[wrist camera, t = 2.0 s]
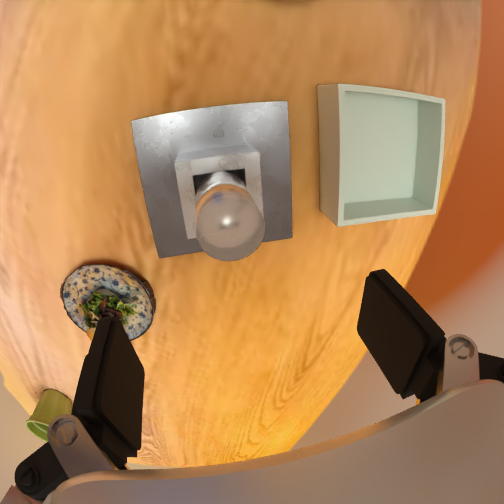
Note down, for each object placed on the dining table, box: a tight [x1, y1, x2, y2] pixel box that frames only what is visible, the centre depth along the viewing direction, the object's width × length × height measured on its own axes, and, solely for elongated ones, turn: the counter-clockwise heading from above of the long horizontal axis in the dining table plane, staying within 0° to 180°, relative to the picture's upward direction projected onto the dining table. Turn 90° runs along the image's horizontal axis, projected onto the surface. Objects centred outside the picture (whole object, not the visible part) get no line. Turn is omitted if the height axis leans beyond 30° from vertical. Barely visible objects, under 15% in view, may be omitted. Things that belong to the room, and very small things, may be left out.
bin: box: [317, 83, 445, 227], centre depth 26 cm, size 13×13×5 cm
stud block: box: [131, 101, 292, 258], centre depth 25 cm, size 14×14×5 cm
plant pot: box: [25, 389, 72, 442], centre depth 35 cm, size 9×9×9 cm
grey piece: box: [174, 144, 265, 261], centre depth 21 cm, size 6×6×11 cm
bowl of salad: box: [60, 264, 156, 341], centre depth 28 cm, size 12×12×8 cm
